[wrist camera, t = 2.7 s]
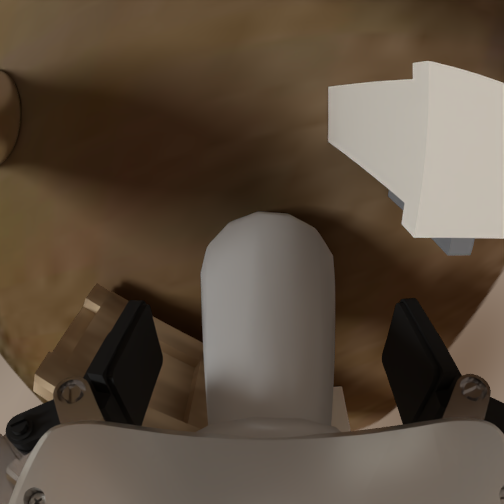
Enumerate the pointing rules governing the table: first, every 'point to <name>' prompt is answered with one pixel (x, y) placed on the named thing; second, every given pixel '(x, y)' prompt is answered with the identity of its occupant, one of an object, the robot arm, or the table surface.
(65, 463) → the robot arm
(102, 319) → the gate
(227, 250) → the salt shaker
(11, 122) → the beer glass
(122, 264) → the table surface
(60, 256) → the table surface
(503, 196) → the gate posts
